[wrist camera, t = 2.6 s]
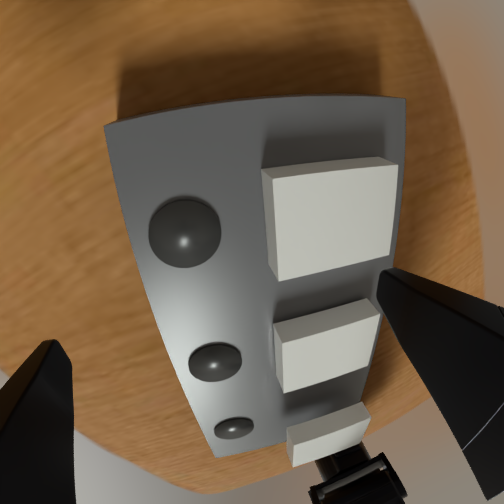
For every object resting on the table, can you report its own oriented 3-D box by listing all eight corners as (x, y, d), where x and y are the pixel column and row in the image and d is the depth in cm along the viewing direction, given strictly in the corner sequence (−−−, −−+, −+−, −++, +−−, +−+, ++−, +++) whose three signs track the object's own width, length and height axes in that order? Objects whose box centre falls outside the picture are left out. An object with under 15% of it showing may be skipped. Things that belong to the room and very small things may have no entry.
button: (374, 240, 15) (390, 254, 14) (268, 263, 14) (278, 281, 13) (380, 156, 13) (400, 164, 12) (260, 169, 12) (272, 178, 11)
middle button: (358, 349, 19) (369, 365, 18) (276, 374, 18) (283, 393, 17) (368, 297, 17) (382, 313, 16) (273, 323, 16) (282, 343, 15)
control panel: (341, 394, 28) (355, 419, 25) (210, 430, 25) (216, 459, 23) (370, 94, 15) (408, 99, 12) (116, 119, 12) (102, 126, 10)
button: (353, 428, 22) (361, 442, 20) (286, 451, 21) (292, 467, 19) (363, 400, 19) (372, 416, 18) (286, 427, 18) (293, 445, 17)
